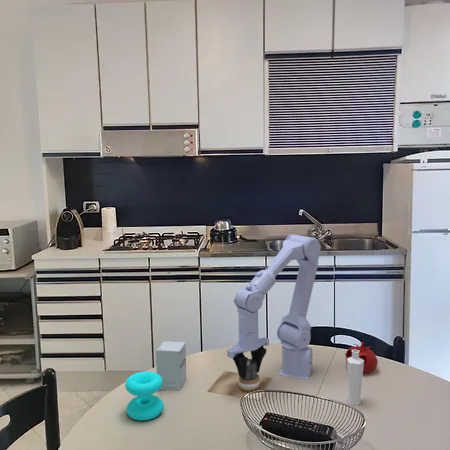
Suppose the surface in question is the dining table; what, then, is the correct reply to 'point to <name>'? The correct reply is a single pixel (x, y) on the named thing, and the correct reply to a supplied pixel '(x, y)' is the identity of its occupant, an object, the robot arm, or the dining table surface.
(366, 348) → the pomegranate
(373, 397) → the dining table surface
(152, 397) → the donuts
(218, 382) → the board
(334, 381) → the dining table surface
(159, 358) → the supplement box
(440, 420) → the dining table surface
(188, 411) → the dining table surface
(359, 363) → the perfume bottle
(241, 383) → the jar
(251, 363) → the cap
